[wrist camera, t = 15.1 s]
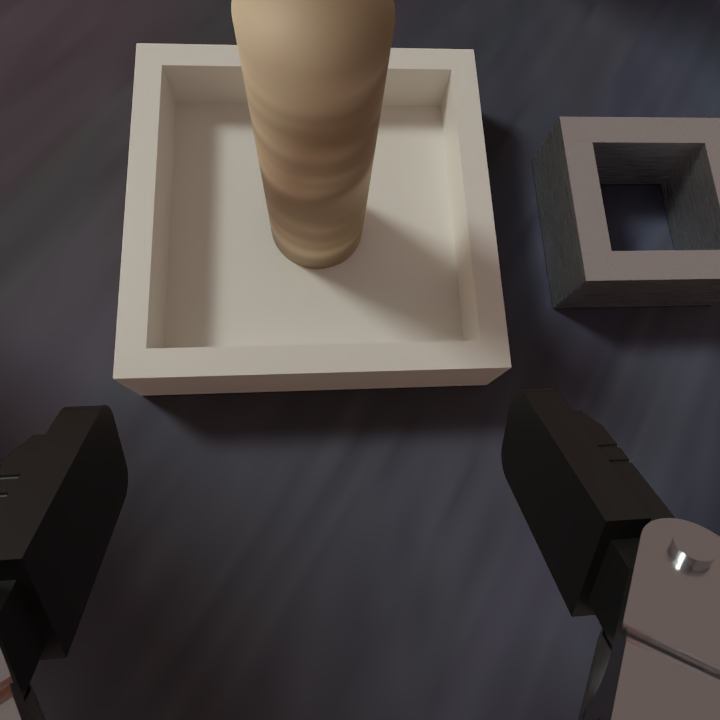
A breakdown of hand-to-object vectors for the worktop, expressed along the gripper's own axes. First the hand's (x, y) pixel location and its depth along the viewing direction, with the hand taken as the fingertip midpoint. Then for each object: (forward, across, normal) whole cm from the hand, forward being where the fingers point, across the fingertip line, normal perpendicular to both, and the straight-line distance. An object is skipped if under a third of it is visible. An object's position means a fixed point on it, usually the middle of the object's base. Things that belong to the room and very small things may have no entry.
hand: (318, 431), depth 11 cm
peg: (+17, 0, +1) cm, 17 cm away
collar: (+18, -16, +2) cm, 24 cm away
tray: (+18, 0, +2) cm, 18 cm away
